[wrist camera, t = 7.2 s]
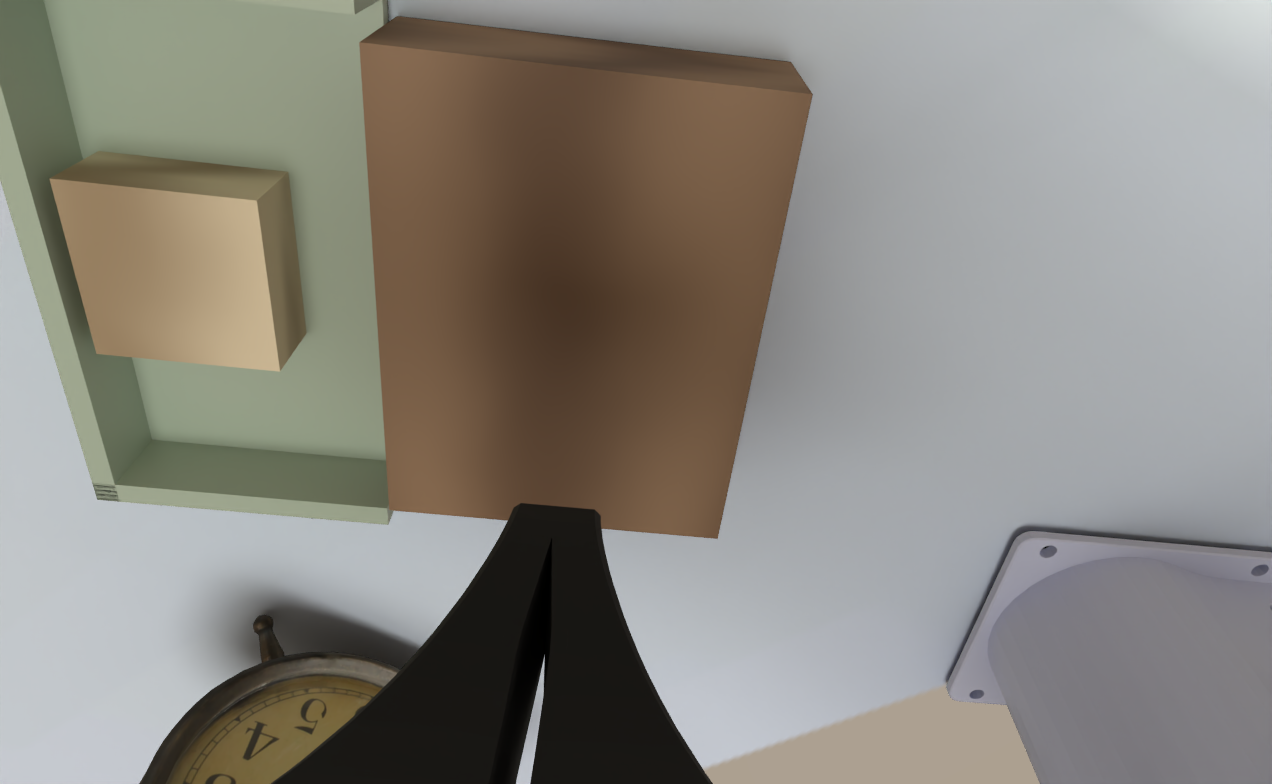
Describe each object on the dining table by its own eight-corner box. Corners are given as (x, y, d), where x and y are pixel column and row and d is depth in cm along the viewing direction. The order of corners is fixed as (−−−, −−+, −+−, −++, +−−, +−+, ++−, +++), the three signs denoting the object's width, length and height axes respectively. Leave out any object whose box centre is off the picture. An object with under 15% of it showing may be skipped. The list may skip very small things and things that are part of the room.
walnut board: (790, 62, 20) (812, 94, 17) (710, 471, 26) (717, 538, 24) (397, 16, 19) (359, 42, 17) (414, 444, 26) (389, 510, 23)
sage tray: (385, -35, 19) (352, -19, 16) (409, 470, 26) (388, 524, 24) (7, -80, 18) (-76, -69, 16) (142, 446, 26) (97, 499, 24)
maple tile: (49, 178, 19) (98, 151, 20) (96, 353, 21) (136, 316, 23) (256, 200, 19) (287, 171, 21) (280, 371, 21) (306, 333, 23)
